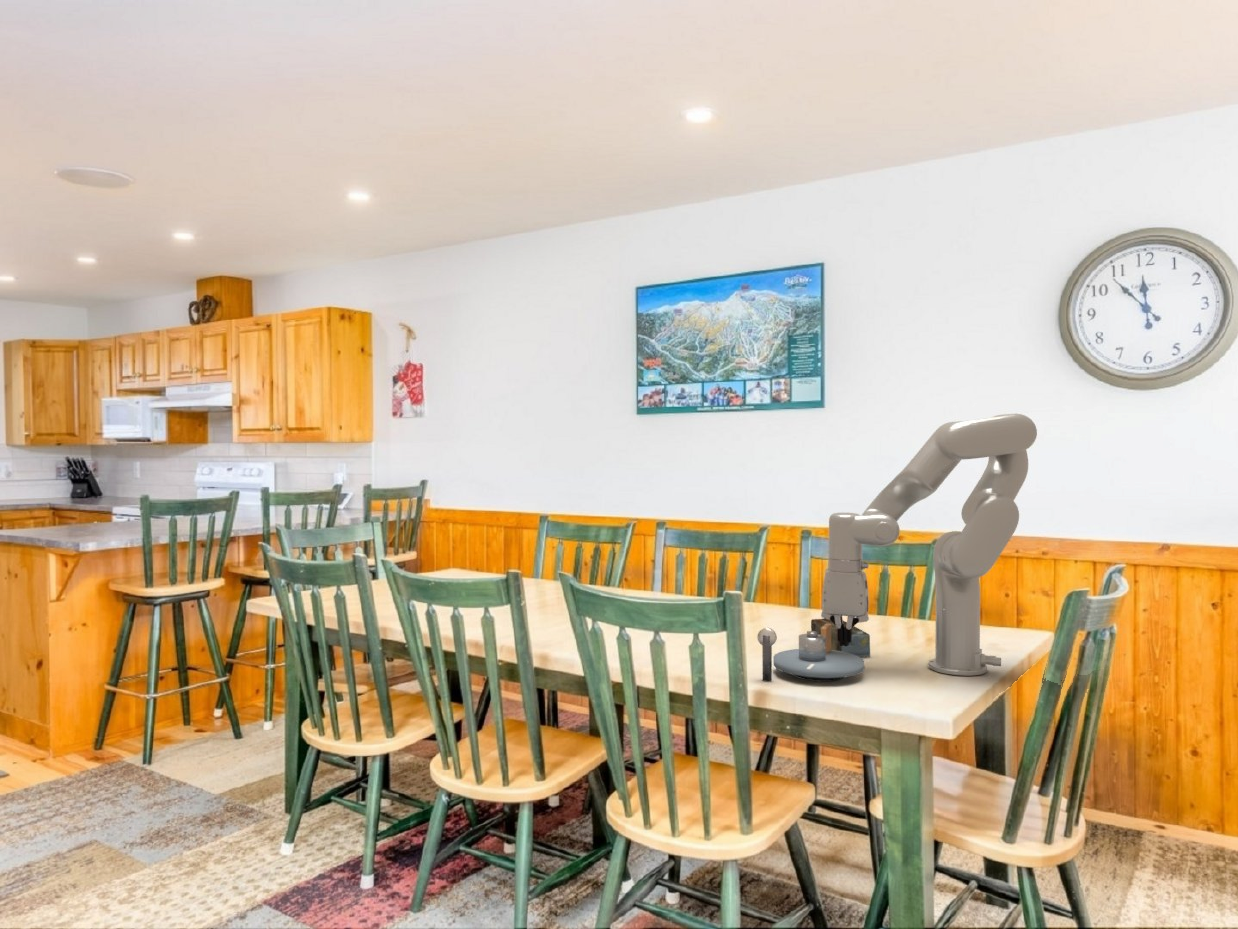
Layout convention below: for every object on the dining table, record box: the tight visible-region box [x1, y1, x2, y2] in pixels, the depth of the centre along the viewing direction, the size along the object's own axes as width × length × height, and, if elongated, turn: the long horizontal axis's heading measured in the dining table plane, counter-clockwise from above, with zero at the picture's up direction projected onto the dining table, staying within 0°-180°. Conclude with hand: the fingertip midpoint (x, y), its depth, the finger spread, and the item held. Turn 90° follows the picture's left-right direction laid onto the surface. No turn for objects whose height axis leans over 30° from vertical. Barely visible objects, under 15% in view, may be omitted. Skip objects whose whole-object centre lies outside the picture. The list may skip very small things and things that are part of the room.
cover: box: [798, 630, 826, 662], centre depth 196 cm, size 6×6×6 cm
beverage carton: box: [810, 618, 871, 659], centre depth 219 cm, size 8×19×7 cm, turn 10°
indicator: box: [757, 627, 778, 682], centre depth 190 cm, size 4×2×12 cm, turn 64°
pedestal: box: [792, 674, 845, 682], centre depth 195 cm, size 12×12×2 cm
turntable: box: [772, 624, 865, 678], centre depth 196 cm, size 20×20×8 cm
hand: (844, 644), depth 201 cm, fingers closed
